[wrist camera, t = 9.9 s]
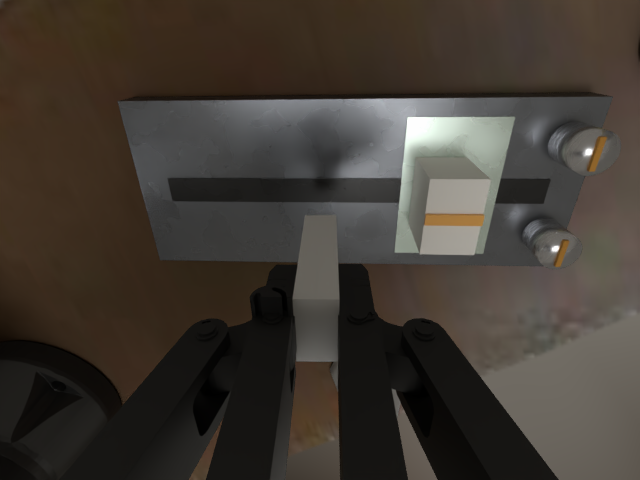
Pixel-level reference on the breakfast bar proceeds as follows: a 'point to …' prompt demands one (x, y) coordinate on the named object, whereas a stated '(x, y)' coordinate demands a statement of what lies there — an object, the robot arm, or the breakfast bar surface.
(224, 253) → the console
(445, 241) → the fader
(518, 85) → the breakfast bar surface
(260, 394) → the robot arm
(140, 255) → the breakfast bar surface
